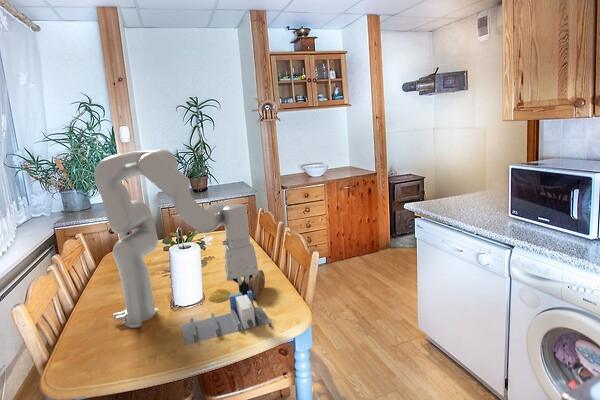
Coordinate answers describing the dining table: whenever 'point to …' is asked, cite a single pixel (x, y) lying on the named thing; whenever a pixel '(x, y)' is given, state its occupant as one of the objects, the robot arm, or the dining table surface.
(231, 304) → the board
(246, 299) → the cable plug
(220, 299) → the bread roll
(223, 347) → the dining table surface
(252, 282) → the brown flat oval slab
